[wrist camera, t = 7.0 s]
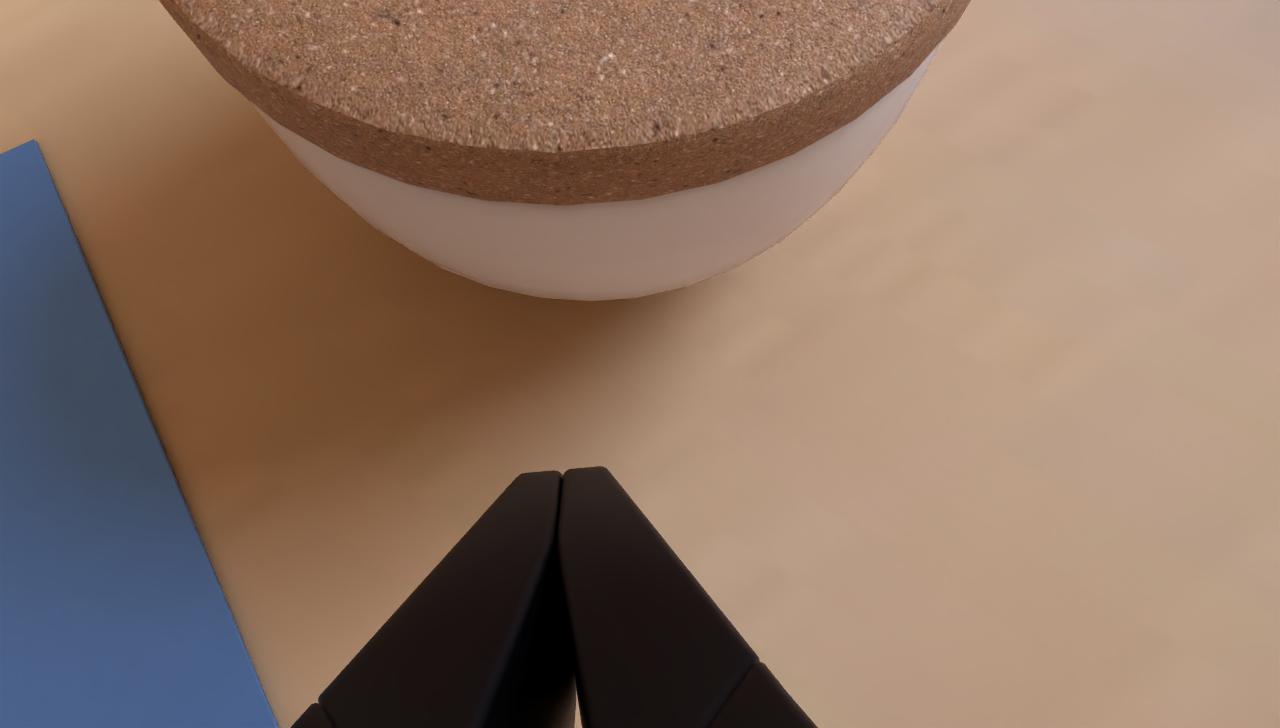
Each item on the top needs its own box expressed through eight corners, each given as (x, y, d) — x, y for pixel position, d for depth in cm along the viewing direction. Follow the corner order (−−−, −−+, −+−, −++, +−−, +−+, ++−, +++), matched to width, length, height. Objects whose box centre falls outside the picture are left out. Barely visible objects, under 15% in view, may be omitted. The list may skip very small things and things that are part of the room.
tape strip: (20, 1008, 13) (14, 1011, 13) (-208, 253, 17) (-212, 251, 17) (320, 827, 14) (318, 829, 14) (37, 141, 17) (33, 139, 17)
